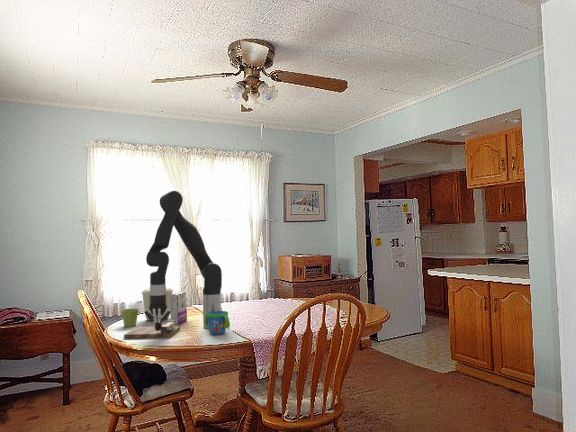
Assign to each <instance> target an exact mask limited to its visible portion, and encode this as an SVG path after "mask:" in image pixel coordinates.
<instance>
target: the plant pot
mask: <svg viewBox="0 0 576 432" xmlns="http://www.w3.org/2000/svg"><path fill="white" fill-rule="evenodd" d="M139 310H140V309H139V308H126V309H121V310H120V312H121V315H122V316H121V317H122V321H123V326H124V327H125V328H126V327H127V328H130V327H134V326H135V327H136V325H137V322H138V321H137V319H138V315H139Z"/></svg>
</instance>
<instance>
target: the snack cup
mask: <svg viewBox="0 0 576 432" xmlns="http://www.w3.org/2000/svg"><path fill="white" fill-rule="evenodd" d="M205 324H206V325H208V327H209V329H208V331H209V334H210V335H211V336H221V335H224V334H225V333H226V332H227V331H226V330H227V329H230V327H231V323H230V319H229V311H227V310H226V311H225V310H222V311H213V312H208V313H206V320H205Z"/></svg>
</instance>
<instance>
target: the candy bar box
mask: <svg viewBox="0 0 576 432" xmlns="http://www.w3.org/2000/svg"><path fill="white" fill-rule="evenodd" d="M187 303H188V302H187V291H179V292H175V293H172V294H171V295H170V310H171V311H172V312H171V313H170V320H175V326H179V325H180V324H183V323H186V322H187V321H188V313H187V311H188V309H187V307H188V305H187Z"/></svg>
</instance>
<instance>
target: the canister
mask: <svg viewBox="0 0 576 432" xmlns="http://www.w3.org/2000/svg"><path fill="white" fill-rule="evenodd" d="M149 292H150V287H149V288H146V289H143V291H141V294H142V302H143V308H144V309H143V310H144V312H145V311H147V310H148V309H149V306H150V294H149ZM173 292H174V289H172V288H170V287H166V305H167V308H168V309H169V310H170V295H171V294H173ZM150 312H151V311H150ZM151 315H152V316H153V314H152V313H151ZM165 315H166V311H165V312H164V314H163V317H164V316H165ZM144 316H145V319H146V320H147V321H150V319H149V318H148V317H147V316H146V314H145V313H144ZM153 317H154V316H153ZM163 317H162V319H163ZM169 317H171V315H169V316H168V317H167V319H169ZM167 319H166V320H167Z"/></svg>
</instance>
